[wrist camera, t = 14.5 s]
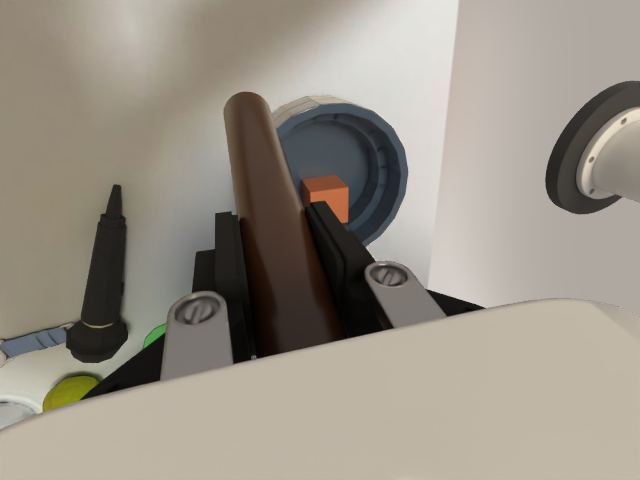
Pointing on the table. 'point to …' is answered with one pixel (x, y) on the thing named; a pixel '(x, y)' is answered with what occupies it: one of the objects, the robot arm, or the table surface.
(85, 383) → the fruit
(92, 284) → the microphone
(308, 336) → the stick
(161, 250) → the table surface
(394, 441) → the robot arm
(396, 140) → the bowl
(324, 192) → the block
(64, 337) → the wristwatch
